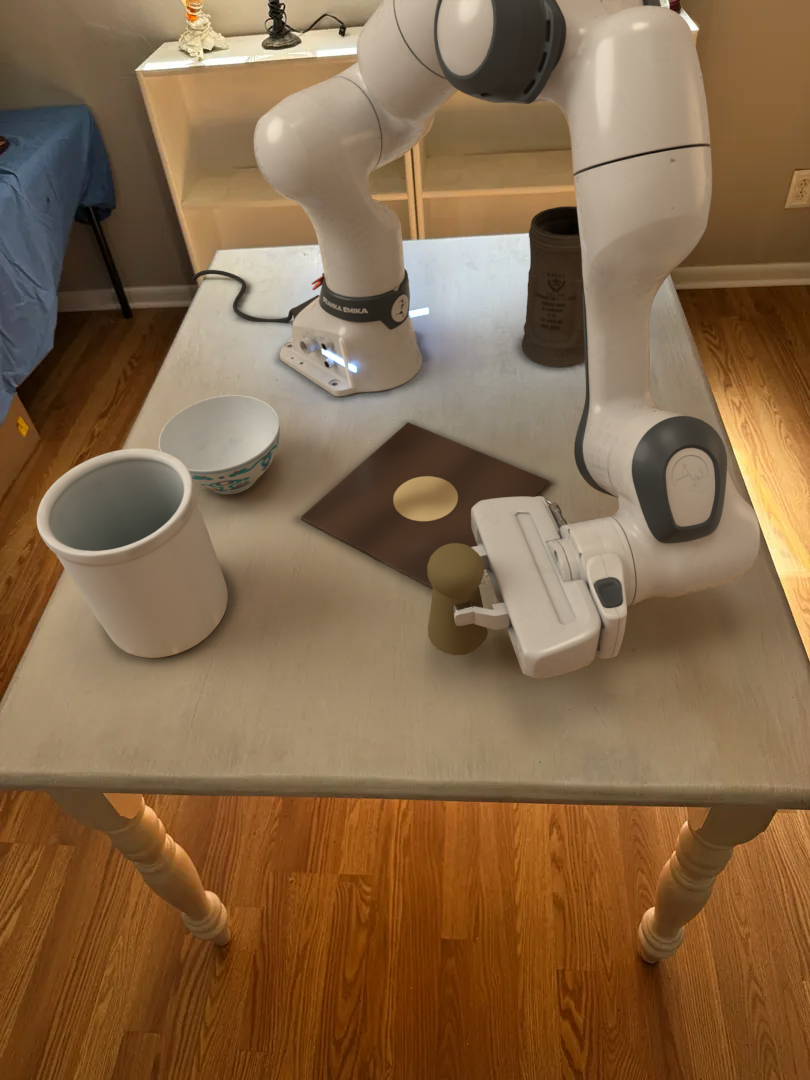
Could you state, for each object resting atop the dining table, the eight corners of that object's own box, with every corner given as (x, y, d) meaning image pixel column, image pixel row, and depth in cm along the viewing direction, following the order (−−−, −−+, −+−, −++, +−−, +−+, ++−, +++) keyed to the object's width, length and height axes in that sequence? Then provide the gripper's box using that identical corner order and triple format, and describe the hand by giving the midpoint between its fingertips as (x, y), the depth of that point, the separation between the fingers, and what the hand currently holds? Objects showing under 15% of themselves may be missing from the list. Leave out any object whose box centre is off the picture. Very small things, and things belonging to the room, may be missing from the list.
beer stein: (592, 372, 113) (609, 234, 99) (517, 368, 115) (524, 232, 101) (595, 322, 124) (611, 191, 110) (527, 319, 126) (534, 190, 112)
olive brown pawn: (446, 664, 76) (442, 593, 68) (417, 621, 80) (409, 549, 72) (499, 639, 77) (501, 565, 69) (468, 598, 81) (466, 524, 73)
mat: (301, 520, 96) (300, 516, 96) (408, 424, 108) (407, 421, 107) (447, 597, 86) (447, 593, 86) (548, 483, 98) (549, 479, 97)
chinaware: (305, 445, 106) (295, 399, 101) (267, 523, 96) (254, 476, 91) (203, 436, 109) (188, 390, 104) (156, 510, 99) (137, 464, 94)
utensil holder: (208, 672, 82) (157, 560, 69) (77, 658, 84) (6, 547, 71) (250, 566, 92) (213, 451, 79) (132, 556, 94) (78, 443, 81)
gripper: (555, 472, 80) (423, 496, 79) (632, 629, 66) (473, 661, 65) (551, 516, 85) (426, 539, 83) (623, 671, 71) (473, 702, 70)
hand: (447, 594), depth 74 cm, fingers closed on olive brown pawn, 4 cm apart
